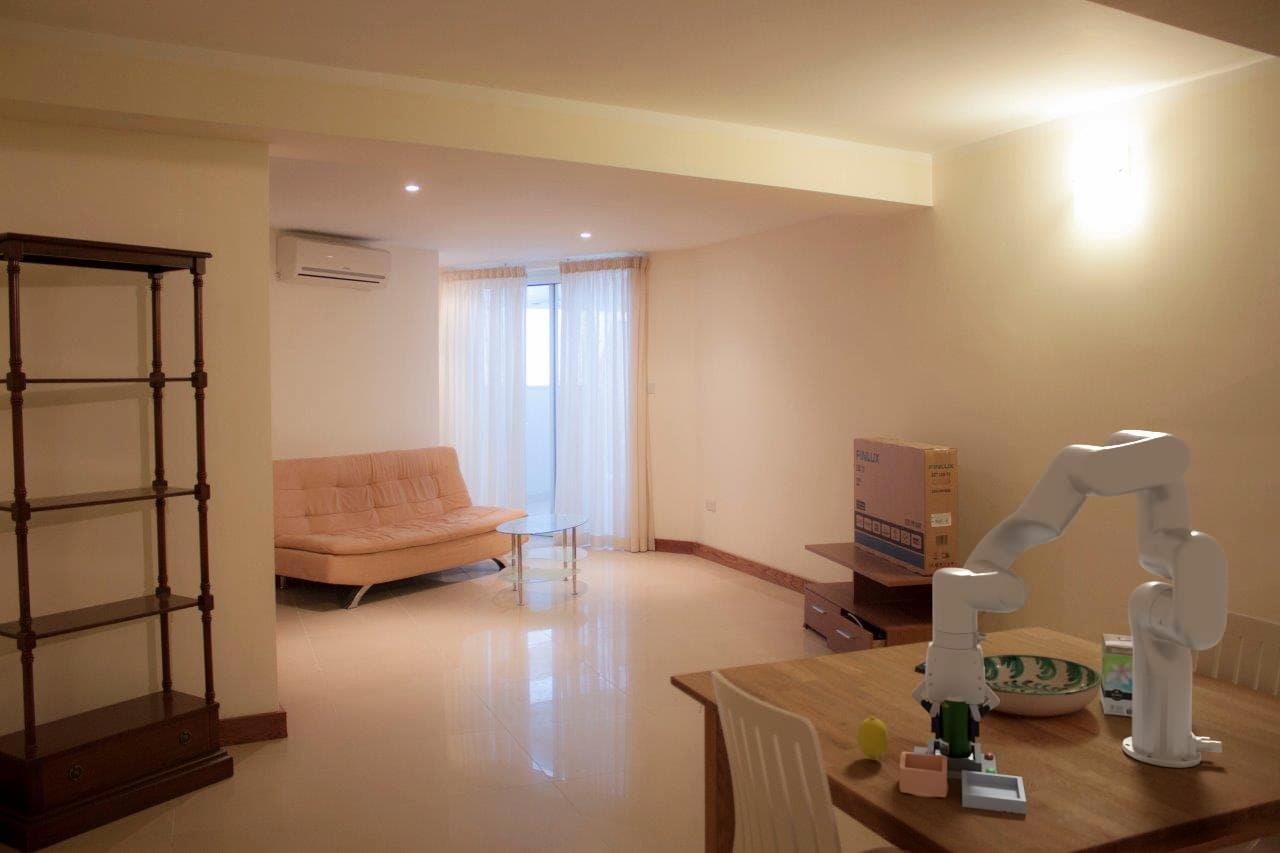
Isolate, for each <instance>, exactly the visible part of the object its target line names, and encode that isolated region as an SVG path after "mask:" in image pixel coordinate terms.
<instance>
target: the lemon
mask: <svg viewBox="0 0 1280 853" xmlns="http://www.w3.org/2000/svg"><path fill="white" fill-rule="evenodd" d="M856 734H857V736H856V738H857V746H858V747H859V750H860V752H862V753H863V755H865V756H867V757H868V758H870V760H872V761H874V760H875V759H877V758H880V757H881V756H883V755H884V754H885V753H886V751H887V750H888V747H889V733H888V730H887V727H886V725H885V724H884V723H883V721H881V720H880V719H878V718H876V717H875V716H870V717H868V718H866V719H863V721H861V723H860V724H859V725H858V729H857V733H856Z"/></svg>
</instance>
